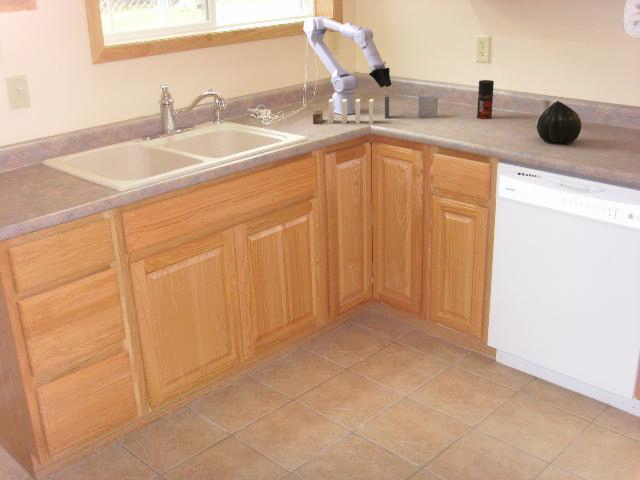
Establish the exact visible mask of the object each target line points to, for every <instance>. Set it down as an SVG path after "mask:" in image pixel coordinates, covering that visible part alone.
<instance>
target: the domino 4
mask: <svg viewBox="0 0 640 480" xmlns="http://www.w3.org/2000/svg"><path fill="white" fill-rule="evenodd" d="M374 103H375V102H374V98H370V99H368V124H374V121H375V119H374V112H375V111H374V106H375V104H374Z"/></svg>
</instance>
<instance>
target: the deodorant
mask: <svg viewBox="0 0 640 480" xmlns="http://www.w3.org/2000/svg"><path fill="white" fill-rule="evenodd" d="M494 82H495V81H494V80H492V79H491V80H490V79H489V80H488V79H481V80H478V92H477V93H478V94H477V112H476V119H479V120H490V119H492V116H493V99H494Z"/></svg>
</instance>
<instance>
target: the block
mask: <svg viewBox="0 0 640 480" xmlns="http://www.w3.org/2000/svg"><path fill="white" fill-rule="evenodd" d="M323 119H324V118H323V110H321V109H317V110H316V109H315V110H314V111H313V113H312V124H314V125H321V123H322V122H323Z"/></svg>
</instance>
